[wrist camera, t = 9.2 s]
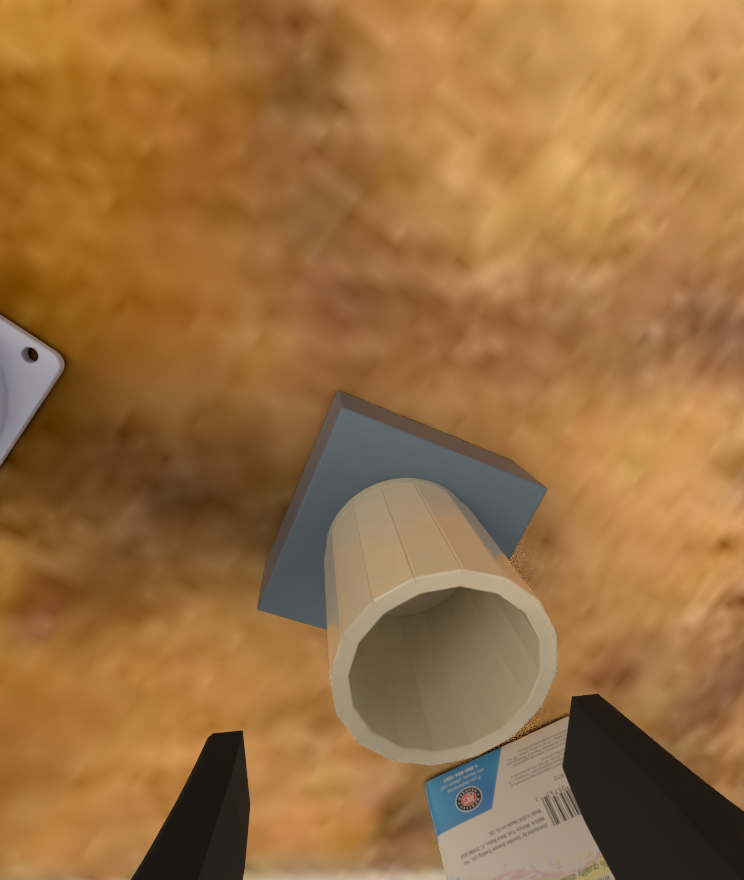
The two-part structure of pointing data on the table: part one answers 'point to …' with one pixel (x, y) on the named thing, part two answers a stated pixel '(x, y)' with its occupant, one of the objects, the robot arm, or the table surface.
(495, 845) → the ink box
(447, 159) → the table surface
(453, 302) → the table surface
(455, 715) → the cup
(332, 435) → the riser block
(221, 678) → the table surface
